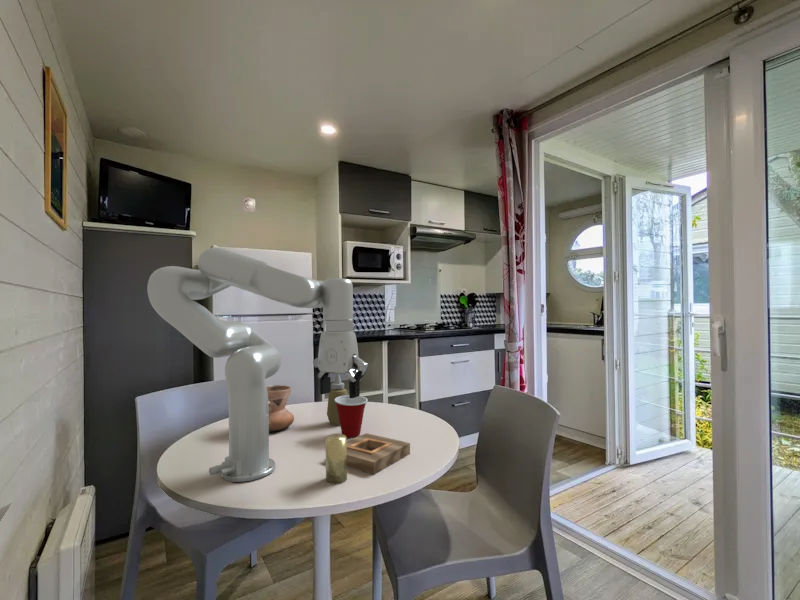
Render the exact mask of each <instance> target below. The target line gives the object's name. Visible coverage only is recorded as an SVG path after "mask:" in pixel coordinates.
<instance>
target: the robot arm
mask: <svg viewBox="0 0 800 600" xmlns="http://www.w3.org/2000/svg"><path fill="white" fill-rule="evenodd" d="M197 267H198V269H193V268H188V267H182V266H178V265H177V266H176V265H171V266H169V265H168V266H164V267H162V266H161V267H159V268H158V269H156V270H154V271H153V272H152V273H151V274H150V276H149V279H148V281H147V286H146V287H147V297H148V299H149V303H150V304H151V306H152V308H153V309H154V311H155V313H157V315H159V317H161V318H162V319H163V320H164V321H166V322H167V323H168V324H169V325H171V326H172V327H173V328H175V330H177V331H178V332H179V333H180V334H182V335H183V336H184V337H185V338H186V339H188V341H190V342H191V343H192V344H193V345H194V346H196V347H197V348H198V349H199V350H200V351H202V352H203V353H204V354H205V355H207V356H208V357H211V358H214V359H219V358H225V357H228V358H227V360H226V362H225V366H224V377H225V382H226V388H227V398H228V456H225V457H224V461H222V462H221V464H219V465H214V466H211V467H209V468H208V473H209V476H210V477H213V476H216V475H220V476H221V477H222V479H224V480H226V481H228V482H233V483H241V482H242V483H243V482H249V481H250V482H251V481H255V480H258V479H261V478H264V477H266V476H268V475H270V474H271V473H273V472H274V471H275V469H276V461H275V460H274V459H272V458H270V432H269V401H268V392H267V387H266V386H267V385H266V384H267V383H266V379H268V378H271V377H272V376H274V375H276V373H277V372H278V371H279V370H280V368H281V366H282V365H281V364H282V356H281V354H280V352H279V350H278V349H277V348H276V347H275V346H274V345H273V344H272V343H270V342H269V341H268V340H267V339H266V338H265V337H263V336H262V335H260V334H259V332H258V331H255V330H254V329H253V328H252V327H251V326H249V325H248V324H246V323H243V322H241V321H238V320H222V319H220V318H219V317H217V316H216V315H215V314H213V313H212V312H211V311H210V310H209V309H207V308H206V307H205V306H204V305H201V304H200V303H198V302H197V301H196V300H199V301H200V300H203V299H206V298H209V297H211V296H213V295H216V294H218V293H219V292H221V291H224V290H225V289H228V288H230V287H235V288H239V289H241V290H243V291H247V292H250V293H251V294H254V295H258V296H261V297H263V298H266V299H269V300H272V301H275V302H278V303H280V304H284V305H288V306H291V307H294V308H299V309H316V308H322V309H323V310H322V315H323V316H322V318H323V322H322V324H321V328H323V332H322V333H321V334H320V338H319V342H318V343H319V344H318V357H316V358H315V359H313V361H312V363H313V366H314V368H315V370H314V371H315V372H316V374H317V378H318V379H319V383H320V384H319V388H320V389H319V391H320V393H319V394H320V395H326V394H329V393H330V392H331V389H332V388H331V384H332V383H331V376H330V374H335V375H336V374H340V375H347V376H348V378H349V379H350V381H349V383H348V385H349V386H348V390H349V392H348V395H349V397H350V398H355V397H358V396H361V395H360V394H361V393H360V392H361V390H360V387H361V386H360V384H361V383H360V381H362V379H363V377H364V376H365V374H366V372H367V368H368V366H369V365H368V363H367V362H366V361H365V360H364V359H362V358H360V357H359V349H358V341H357V335H356V332H354V296H353V295H354V289H353V288H354V287H353V282H352V280H351V279H348V278H344V277H343V278H341V277H339V278H338V277H337V278H327V279H325V280H317V279H313V278H309V277H305V276H302V275H298V274H295V273H292V272H288V271H285V270H282V269H279V268H276V267H273V266H270V265H269V264H268V263H267V262H264V261H263V260H259V259H256V258H253V257H250V256H246V255H243V254H240V253H237V252H235V251H231V250H227V249H225V248H221V247H212V248H211V247H210V248H208V249H205V250H203V251H202V252H201V253H200V255H199V256H198V259H197Z"/></svg>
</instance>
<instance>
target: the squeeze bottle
mask: <svg viewBox="0 0 800 600" xmlns="http://www.w3.org/2000/svg"><path fill="white" fill-rule="evenodd" d="M334 378H335V379H334V382H333V383H331V392H330V393H328V397H327V407H326V409H327V411H326V416H327V419H328V421H329V424H330V425H331V426H340V421H339V415H338V409H337V406H336V402H335V398H337V397H339V396H344V395H348V390H347V389H346V388H345V383H344V382H342V379H341V374H336V373H335V377H334Z"/></svg>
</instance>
